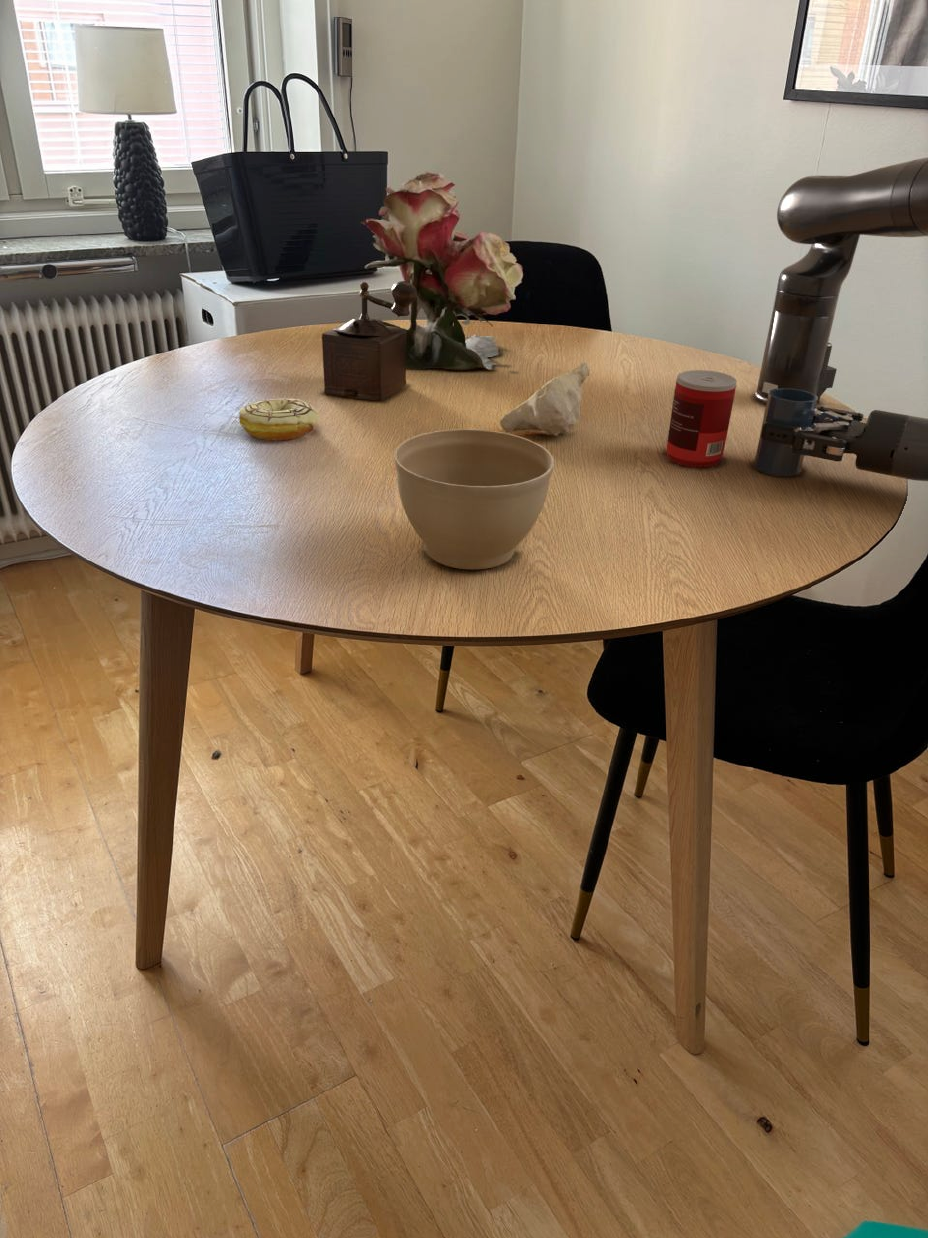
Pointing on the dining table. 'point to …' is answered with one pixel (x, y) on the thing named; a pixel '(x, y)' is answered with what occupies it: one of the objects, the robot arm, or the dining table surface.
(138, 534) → the dining table surface
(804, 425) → the tumbler
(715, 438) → the canned food
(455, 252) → the rose bouquet
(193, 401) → the dining table surface
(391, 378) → the manual coffee grinder
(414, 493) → the planter bowl
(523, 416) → the cream rock
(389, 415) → the dining table surface
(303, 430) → the decorated donut
